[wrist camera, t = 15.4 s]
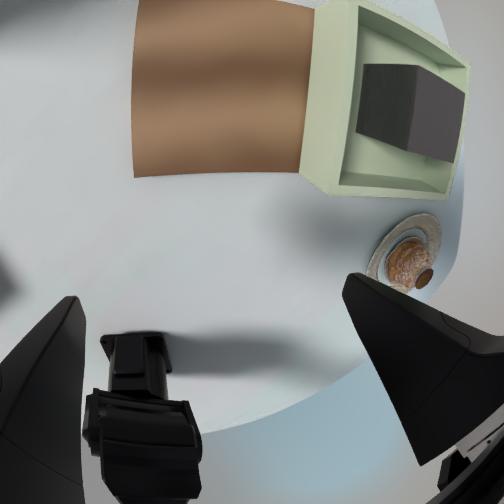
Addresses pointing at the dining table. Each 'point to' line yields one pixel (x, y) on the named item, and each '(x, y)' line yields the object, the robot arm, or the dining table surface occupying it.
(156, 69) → the track
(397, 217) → the dining table surface
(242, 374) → the dining table surface
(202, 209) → the dining table surface
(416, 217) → the pastry
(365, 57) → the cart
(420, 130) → the block
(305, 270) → the dining table surface
